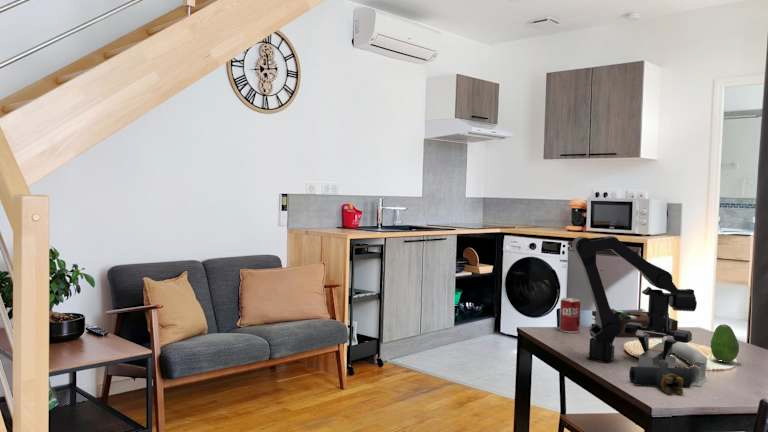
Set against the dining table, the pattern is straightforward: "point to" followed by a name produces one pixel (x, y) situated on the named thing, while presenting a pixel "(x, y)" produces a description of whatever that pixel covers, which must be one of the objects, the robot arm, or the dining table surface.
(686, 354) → the tube
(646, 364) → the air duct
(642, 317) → the brown flat box
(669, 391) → the pipe connector
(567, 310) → the soda can
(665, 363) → the collar rail
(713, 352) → the avocado
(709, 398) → the dining table surface
